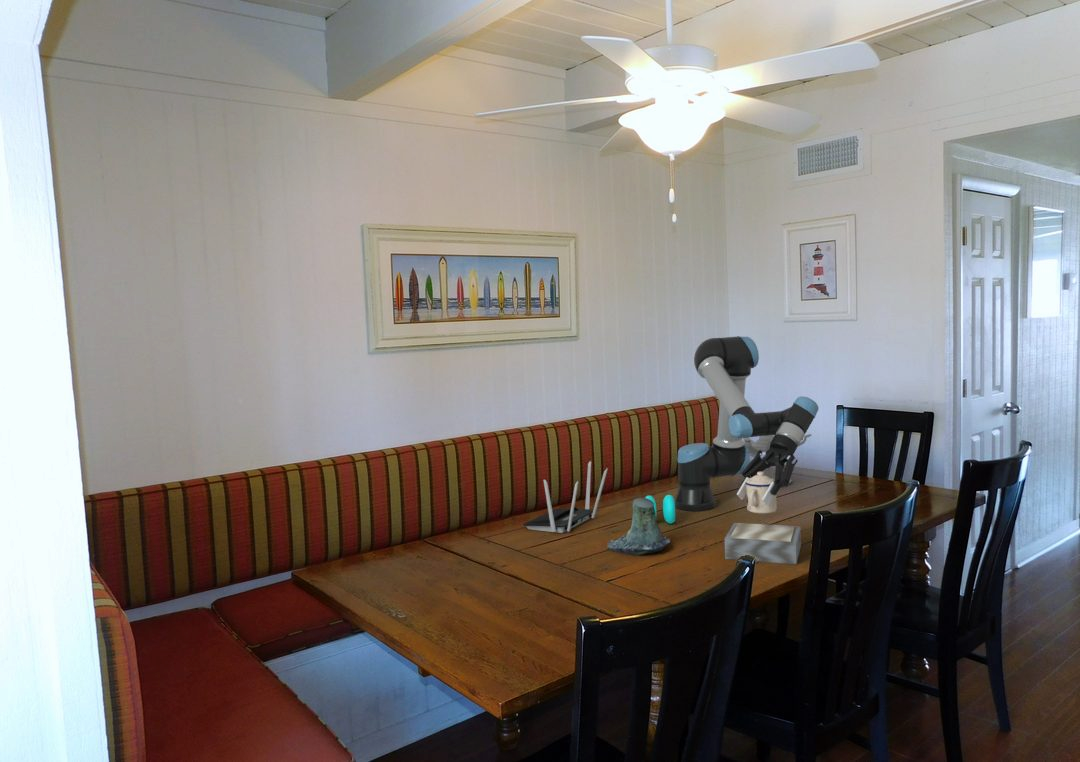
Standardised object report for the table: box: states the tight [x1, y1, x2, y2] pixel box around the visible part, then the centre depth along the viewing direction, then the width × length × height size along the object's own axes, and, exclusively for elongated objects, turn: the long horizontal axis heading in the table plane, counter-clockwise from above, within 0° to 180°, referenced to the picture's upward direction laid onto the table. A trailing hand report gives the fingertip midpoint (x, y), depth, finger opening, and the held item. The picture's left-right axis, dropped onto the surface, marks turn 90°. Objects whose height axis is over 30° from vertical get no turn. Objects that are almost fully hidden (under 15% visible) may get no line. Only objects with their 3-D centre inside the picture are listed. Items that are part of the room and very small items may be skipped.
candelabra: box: [742, 430, 812, 484], centre depth 320 cm, size 34×35×27 cm
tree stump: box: [606, 497, 671, 556], centre depth 238 cm, size 19×21×19 cm
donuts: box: [644, 494, 676, 524], centre depth 266 cm, size 10×10×10 cm
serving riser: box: [724, 522, 802, 565], centre depth 228 cm, size 20×18×6 cm
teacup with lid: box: [745, 471, 778, 514], centre depth 228 cm, size 12×9×12 cm
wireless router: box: [523, 461, 609, 534], centre depth 269 cm, size 34×23×20 cm
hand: (752, 499), depth 227 cm, fingers closed on teacup with lid, 9 cm apart
